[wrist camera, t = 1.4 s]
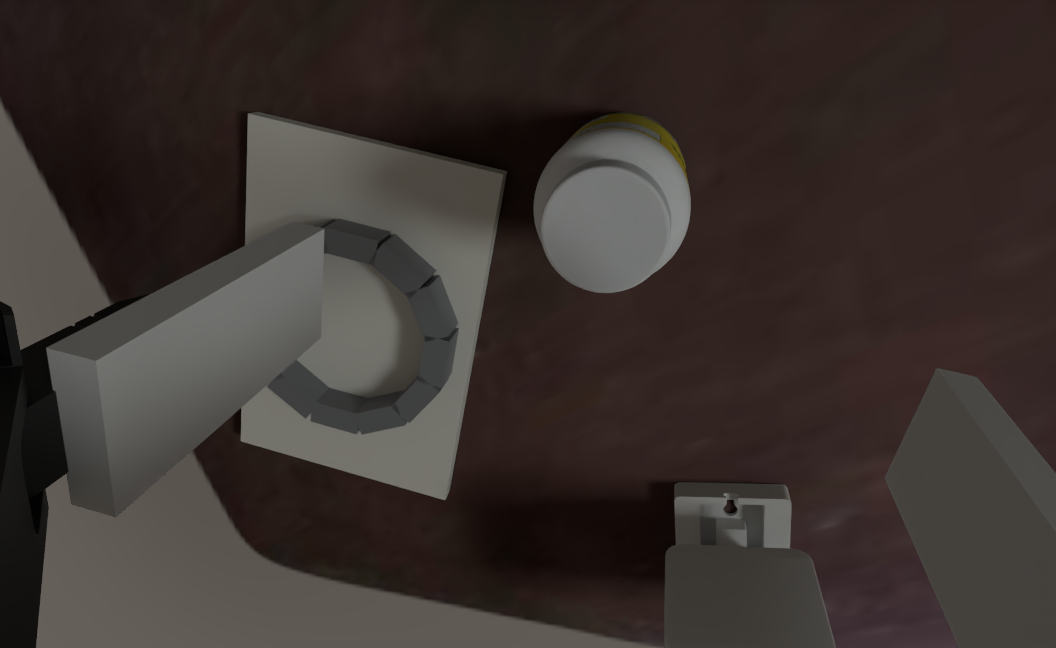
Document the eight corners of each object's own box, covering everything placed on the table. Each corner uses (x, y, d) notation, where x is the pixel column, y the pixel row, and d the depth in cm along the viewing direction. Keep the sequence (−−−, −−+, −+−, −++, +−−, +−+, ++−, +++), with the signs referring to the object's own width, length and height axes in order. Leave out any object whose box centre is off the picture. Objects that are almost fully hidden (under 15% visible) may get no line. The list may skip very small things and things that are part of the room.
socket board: (257, 111, 32) (227, 117, 30) (507, 171, 31) (494, 181, 28) (248, 433, 39) (223, 456, 37) (449, 491, 38) (436, 518, 36)
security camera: (669, 589, 38) (669, 763, 29) (665, 481, 35) (663, 636, 26) (792, 595, 36) (831, 780, 27) (796, 484, 34) (842, 648, 25)
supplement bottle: (672, 245, 31) (672, 331, 22) (552, 224, 31) (505, 299, 22) (699, 119, 28) (712, 157, 19) (570, 100, 29) (525, 128, 20)
